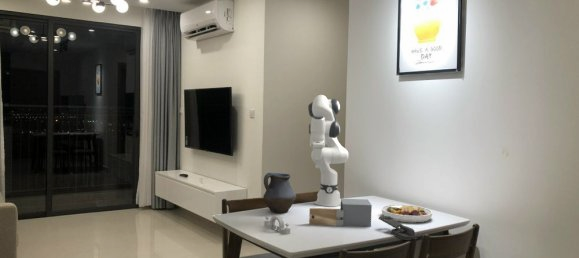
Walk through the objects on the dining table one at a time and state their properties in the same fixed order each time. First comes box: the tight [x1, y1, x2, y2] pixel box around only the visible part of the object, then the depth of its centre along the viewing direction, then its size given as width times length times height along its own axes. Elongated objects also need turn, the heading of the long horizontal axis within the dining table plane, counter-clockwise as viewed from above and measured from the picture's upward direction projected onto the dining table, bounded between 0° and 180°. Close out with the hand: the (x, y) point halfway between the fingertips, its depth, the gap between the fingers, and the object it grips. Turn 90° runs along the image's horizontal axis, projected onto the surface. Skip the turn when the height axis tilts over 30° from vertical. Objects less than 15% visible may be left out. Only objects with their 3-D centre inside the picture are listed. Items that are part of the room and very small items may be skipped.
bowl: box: [381, 204, 433, 224], centre depth 281 cm, size 30×30×8 cm
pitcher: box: [262, 172, 297, 214], centre depth 287 cm, size 21×22×25 cm
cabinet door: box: [308, 207, 341, 226], centre depth 258 cm, size 4×18×9 cm, turn 88°
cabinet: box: [335, 198, 373, 227], centre depth 265 cm, size 18×20×12 cm
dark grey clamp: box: [378, 215, 418, 241], centre depth 244 cm, size 9×7×25 cm
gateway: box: [263, 215, 291, 235], centre depth 245 cm, size 20×2×8 cm, turn 39°
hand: (316, 166), depth 271 cm, fingers open, 8 cm apart
